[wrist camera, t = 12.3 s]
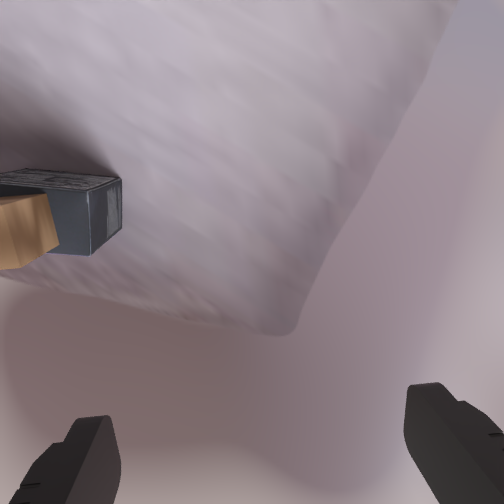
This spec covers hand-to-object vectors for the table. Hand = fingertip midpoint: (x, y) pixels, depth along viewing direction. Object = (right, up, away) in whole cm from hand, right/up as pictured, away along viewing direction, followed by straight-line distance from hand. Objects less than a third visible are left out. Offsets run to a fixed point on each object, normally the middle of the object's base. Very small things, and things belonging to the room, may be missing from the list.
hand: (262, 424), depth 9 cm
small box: (-21, +11, +30) cm, 38 cm away
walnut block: (-20, +7, +20) cm, 29 cm away
